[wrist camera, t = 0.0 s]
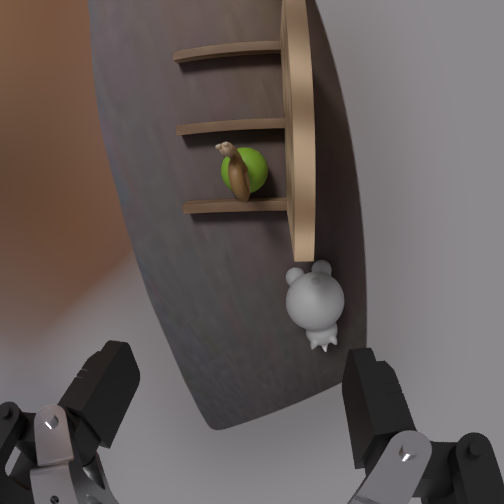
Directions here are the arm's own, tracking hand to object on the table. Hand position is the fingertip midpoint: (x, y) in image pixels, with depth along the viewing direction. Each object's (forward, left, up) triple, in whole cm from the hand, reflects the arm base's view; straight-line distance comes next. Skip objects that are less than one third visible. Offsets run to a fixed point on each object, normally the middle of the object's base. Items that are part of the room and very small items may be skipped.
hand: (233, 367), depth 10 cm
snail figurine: (-4, -2, -30) cm, 30 cm away
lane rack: (-9, -4, -29) cm, 31 cm away
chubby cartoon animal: (+15, +7, -30) cm, 34 cm away
